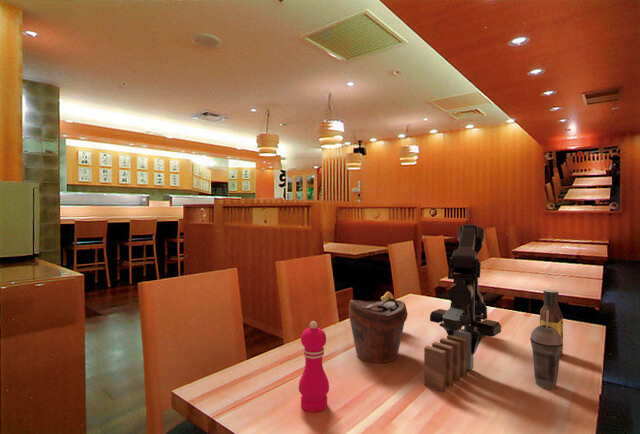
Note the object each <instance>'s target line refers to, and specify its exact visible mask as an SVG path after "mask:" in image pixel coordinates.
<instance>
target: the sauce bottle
mask: <svg viewBox="0 0 640 434" xmlns="http://www.w3.org/2000/svg"><path fill="white" fill-rule="evenodd" d="M542 294H543V306H542V307H541V308H540V311H539V326H541V325H546V315H547V310H549V321H548V326H550V327H553V328H554V329H555V330H557V331H558V333H559V334H560V336H561V339H562V343H563V345H562V350H561V352H560V357H561V356H562V355H563V352H564V316H563V313H562V312H561V308H560V306H559V291H558V290H554V289H544V290H543V292H542Z"/></svg>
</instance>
